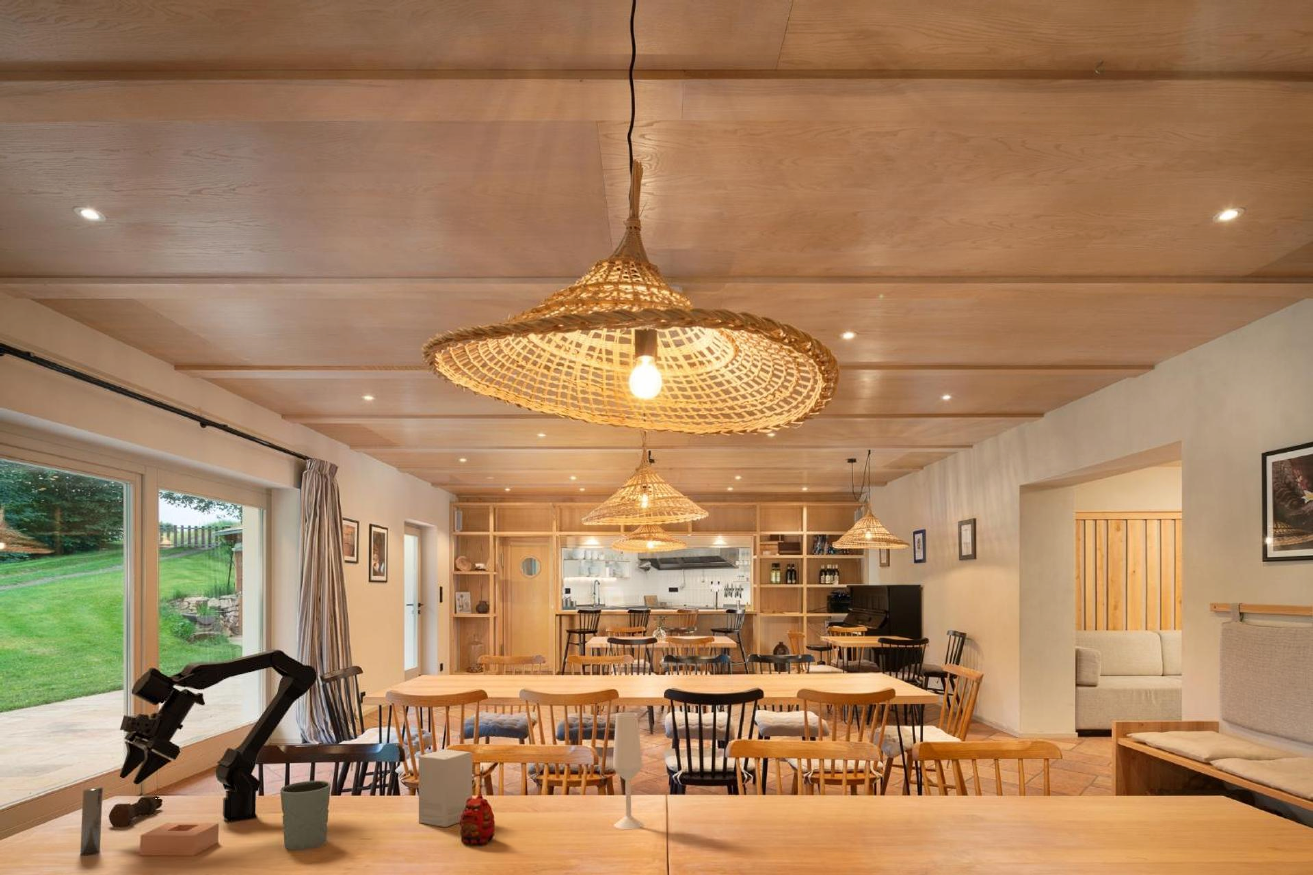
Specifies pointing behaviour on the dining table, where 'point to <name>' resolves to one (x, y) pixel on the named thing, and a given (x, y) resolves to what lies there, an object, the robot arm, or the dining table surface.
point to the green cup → (305, 814)
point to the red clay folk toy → (477, 819)
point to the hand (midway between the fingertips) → (128, 780)
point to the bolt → (133, 810)
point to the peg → (91, 821)
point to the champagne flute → (627, 760)
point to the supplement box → (444, 786)
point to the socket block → (179, 839)
